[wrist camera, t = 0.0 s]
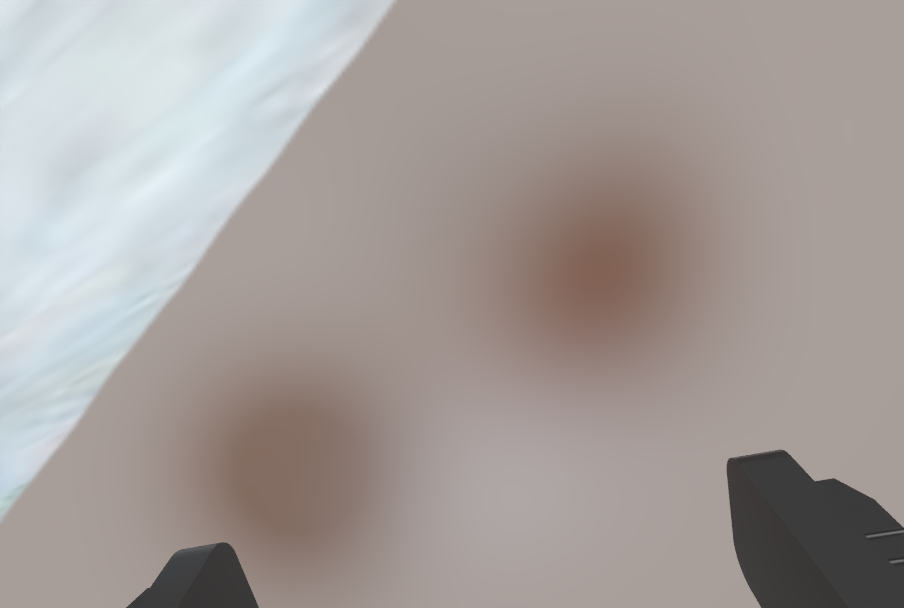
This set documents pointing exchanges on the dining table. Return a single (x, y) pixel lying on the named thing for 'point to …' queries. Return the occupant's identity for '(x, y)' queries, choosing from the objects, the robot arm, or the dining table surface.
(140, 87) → the dining table surface
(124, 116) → the dining table surface
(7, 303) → the dining table surface
